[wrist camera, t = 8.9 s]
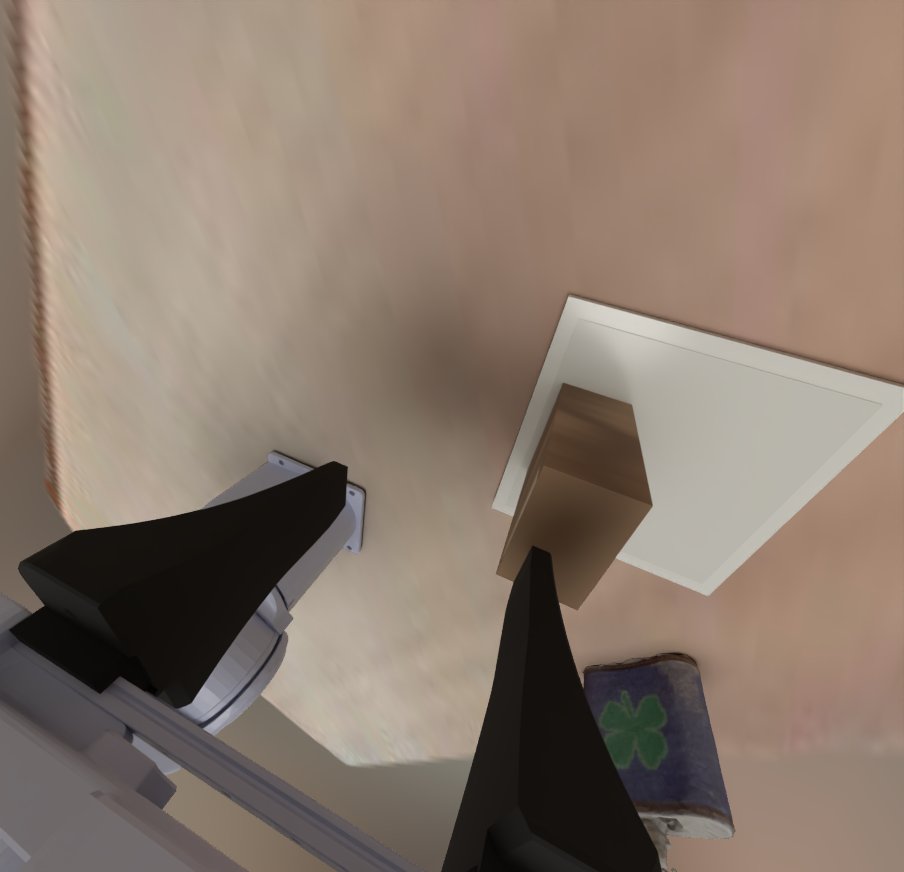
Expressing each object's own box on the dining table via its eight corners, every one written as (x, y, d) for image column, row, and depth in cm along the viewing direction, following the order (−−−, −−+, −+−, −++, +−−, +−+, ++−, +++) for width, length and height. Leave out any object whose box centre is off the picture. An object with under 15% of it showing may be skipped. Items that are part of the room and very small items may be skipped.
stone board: (494, 500, 24) (491, 508, 24) (569, 294, 17) (568, 296, 16) (704, 585, 22) (708, 597, 21) (908, 385, 14) (925, 394, 13)
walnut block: (526, 470, 21) (495, 573, 15) (563, 382, 18) (543, 465, 11) (584, 492, 21) (577, 610, 14) (632, 404, 17) (653, 506, 11)
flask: (684, 648, 25) (731, 872, 16) (709, 674, 25) (767, 906, 17) (576, 666, 30) (567, 842, 21) (597, 687, 30) (597, 868, 22)
